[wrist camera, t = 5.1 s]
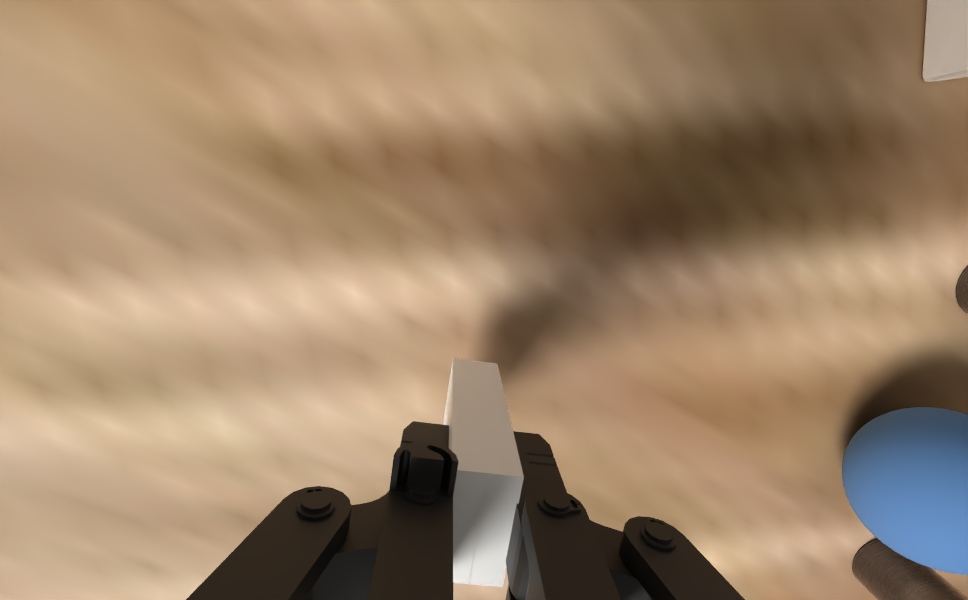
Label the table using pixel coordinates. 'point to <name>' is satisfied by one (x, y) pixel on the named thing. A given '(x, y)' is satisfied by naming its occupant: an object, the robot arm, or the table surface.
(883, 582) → the post
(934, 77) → the ink cartridge box
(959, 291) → the post
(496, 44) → the table surface
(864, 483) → the ball
